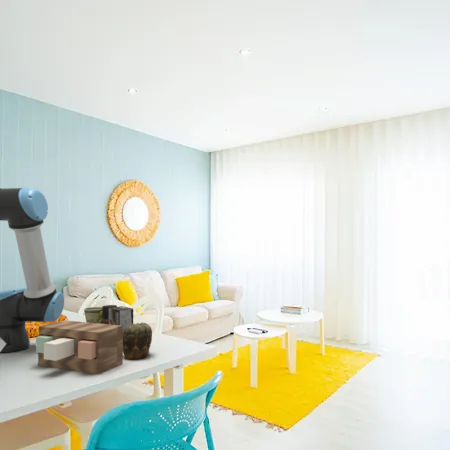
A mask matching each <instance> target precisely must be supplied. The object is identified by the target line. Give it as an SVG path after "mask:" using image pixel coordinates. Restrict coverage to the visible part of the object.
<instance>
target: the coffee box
mask: <svg viewBox="0 0 450 450" xmlns="http://www.w3.org/2000/svg"><path fill="white" fill-rule="evenodd" d="M109 324H110V325H121V326H123V333H124V330H125V328H126V327H127V326H129V325H131V324H134V308H132V307H127V306H123V305H122V306H117V307H113V308H109Z"/></svg>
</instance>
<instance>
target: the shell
mask: <svg viewBox="0 0 450 450" xmlns="http://www.w3.org/2000/svg"><path fill="white" fill-rule="evenodd" d="M152 338H153V330H152V327H151V326H150V325H149V324H148V323H146V322H137V323H133V324H131V325H129V326H127V327H126V328H125V330H124V333H123V356H124V358H125V359H127V360H131V361H132V360H133V361H135V360H140V359H141V360H142V359H145V358H146V357H148V356H149V353H150V348H151V344H152V341H153V339H152Z"/></svg>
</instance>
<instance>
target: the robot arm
mask: <svg viewBox="0 0 450 450" xmlns="http://www.w3.org/2000/svg"><path fill="white" fill-rule="evenodd" d="M48 207H49V206H48V202H47V199H46V197H45V195H44V194H43V192H42V191H40V190H39V189H37V188H29V187H12V188H11V187H10V188H9V187H8V188H6V187H5V188H0V222H1V221H4V222H6V221H7V224H8V228H9V229H10V230H12V231H14V235H15V240H16V244H17V248H18V253H19V259H20V262H21V268H22V272H23V277H24V281H25V284H26V285H25V286H26V288H25V287H20V288H15V289H7V290H1V291H0V353H1V354H4V353H12V352H17V351H18V352H19V351H22V350H26V349H28V348H29V347H30V344H31V343H30V338H29V334H28V331H27V329H26V323H28V322H29V323H30V322H32V323H50V322H51V323H54V322H56V321H57V320H58V319H59V318H60V317H61V315H62V313H63V311H64V307H65V294H64V293H63V292H61V291H57V287H56V285H55V283H52V281H51V275H50V272H49V267H48V261H47V257H46V251H45V246H44V241H43V235H42V229H41V227H42V225H43V224H44V220H45V219H46V218H47V216H48V210H49V208H48Z"/></svg>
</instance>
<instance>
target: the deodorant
mask: <svg viewBox="0 0 450 450" xmlns="http://www.w3.org/2000/svg"><path fill="white" fill-rule="evenodd" d="M101 307H102V324H109V308H113V307H118V305H116V304H106V305H102V306H101Z"/></svg>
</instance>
